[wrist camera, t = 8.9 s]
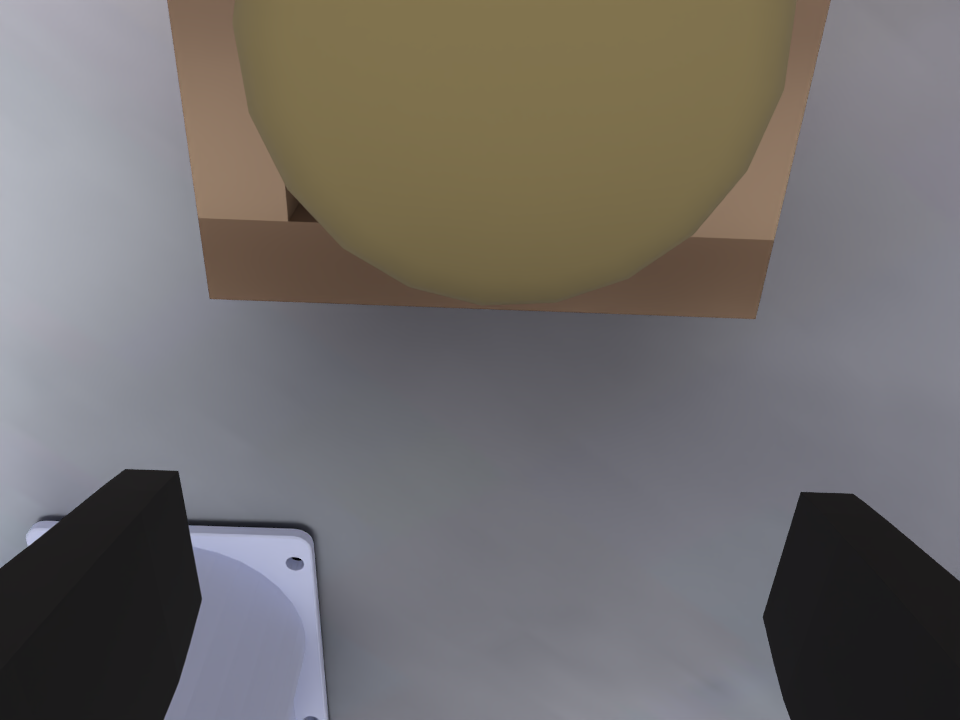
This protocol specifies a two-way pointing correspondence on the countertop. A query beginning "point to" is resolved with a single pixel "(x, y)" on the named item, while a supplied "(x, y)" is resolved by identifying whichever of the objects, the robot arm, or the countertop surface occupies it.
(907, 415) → the countertop surface
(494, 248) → the olive rounded peg
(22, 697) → the robot arm
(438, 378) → the countertop surface
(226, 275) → the socket block
